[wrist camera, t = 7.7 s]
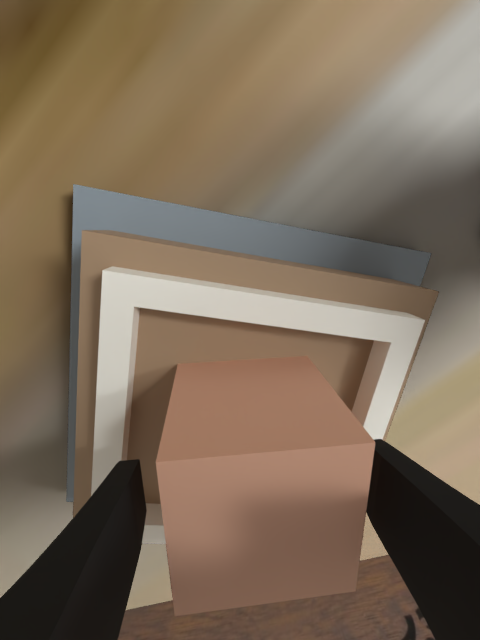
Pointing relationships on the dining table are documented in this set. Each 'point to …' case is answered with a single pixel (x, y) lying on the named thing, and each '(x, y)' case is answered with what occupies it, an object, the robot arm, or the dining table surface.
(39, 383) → the dining table surface
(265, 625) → the tissue box cover
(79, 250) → the build base
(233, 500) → the terracotta cube
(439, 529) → the robot arm
